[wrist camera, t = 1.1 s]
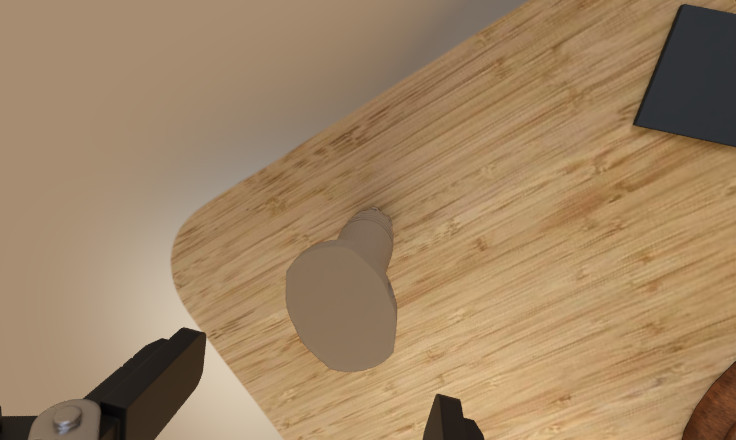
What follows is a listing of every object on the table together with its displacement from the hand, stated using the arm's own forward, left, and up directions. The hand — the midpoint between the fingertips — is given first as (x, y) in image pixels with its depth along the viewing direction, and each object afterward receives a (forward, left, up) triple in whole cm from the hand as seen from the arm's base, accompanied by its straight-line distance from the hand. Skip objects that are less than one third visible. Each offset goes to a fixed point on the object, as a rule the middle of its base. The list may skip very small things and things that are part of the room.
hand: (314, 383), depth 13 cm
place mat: (-16, +21, -20) cm, 33 cm away
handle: (0, 0, -20) cm, 20 cm away
